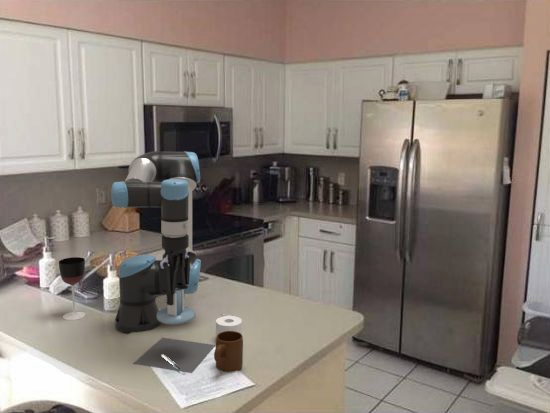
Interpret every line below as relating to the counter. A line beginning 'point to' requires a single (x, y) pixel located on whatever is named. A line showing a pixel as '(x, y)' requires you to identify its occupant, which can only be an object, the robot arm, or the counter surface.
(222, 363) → the mug
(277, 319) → the counter surface
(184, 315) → the lid
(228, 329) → the toilet paper
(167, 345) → the mat
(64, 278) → the wineglass
